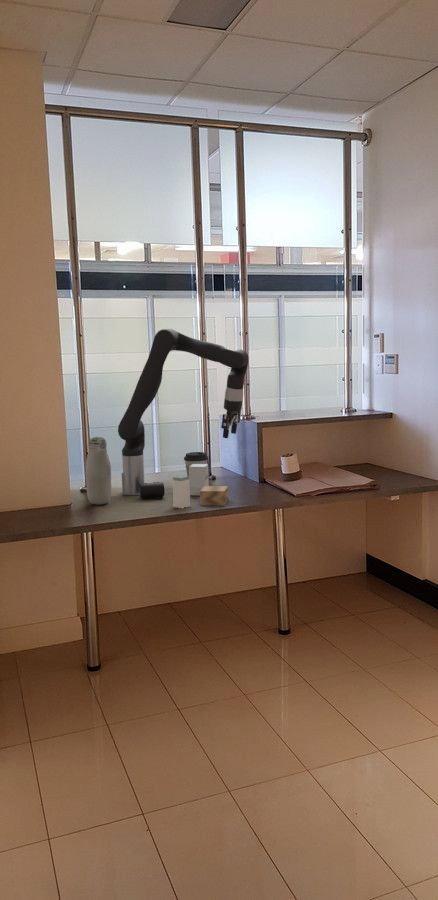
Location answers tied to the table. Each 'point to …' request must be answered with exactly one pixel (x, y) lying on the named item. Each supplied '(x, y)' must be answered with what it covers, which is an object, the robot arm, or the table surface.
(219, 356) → the robot arm
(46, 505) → the table surface
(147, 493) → the end cap
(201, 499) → the oak box
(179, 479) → the cream carton
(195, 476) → the supplement box
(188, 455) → the coffee cup
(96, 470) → the glass bottle
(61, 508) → the table surface
